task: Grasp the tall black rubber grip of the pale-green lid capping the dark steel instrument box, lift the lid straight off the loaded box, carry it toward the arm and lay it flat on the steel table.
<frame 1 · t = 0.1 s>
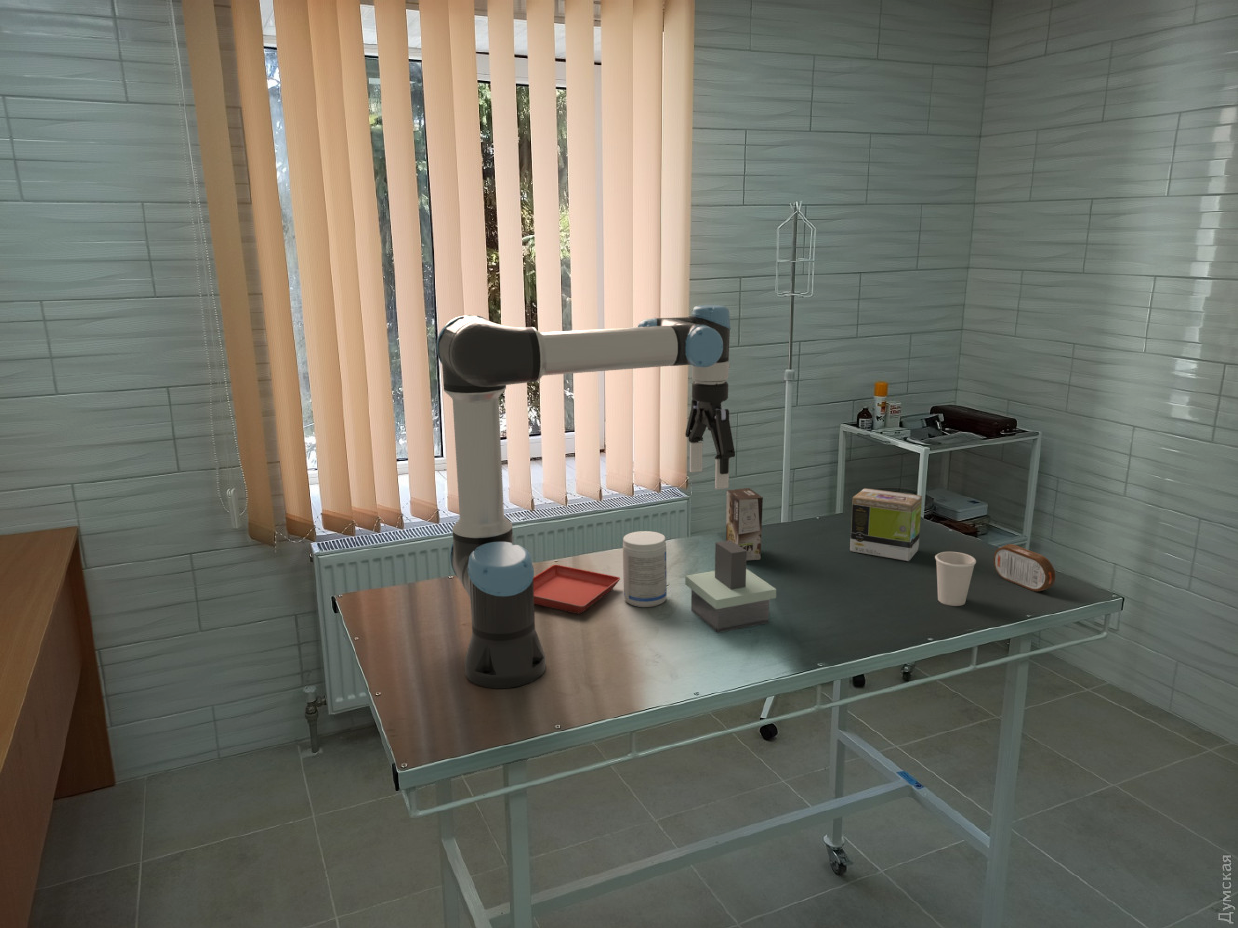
hand: (708, 479, 190), 28 cm above the table, fingers open, 13 cm apart
dixie cup: (951, 601, 197), on the table
plant saucer: (568, 597, 201), on the table
lid: (729, 591, 188), point 6 cm above the table, touching instrument box
tin: (1020, 585, 205), on the table
supplement tub: (644, 600, 199), on the table
tea box: (883, 551, 227), on the table
instrument box: (729, 616, 190), on the table
coffee box: (742, 555, 225), on the table
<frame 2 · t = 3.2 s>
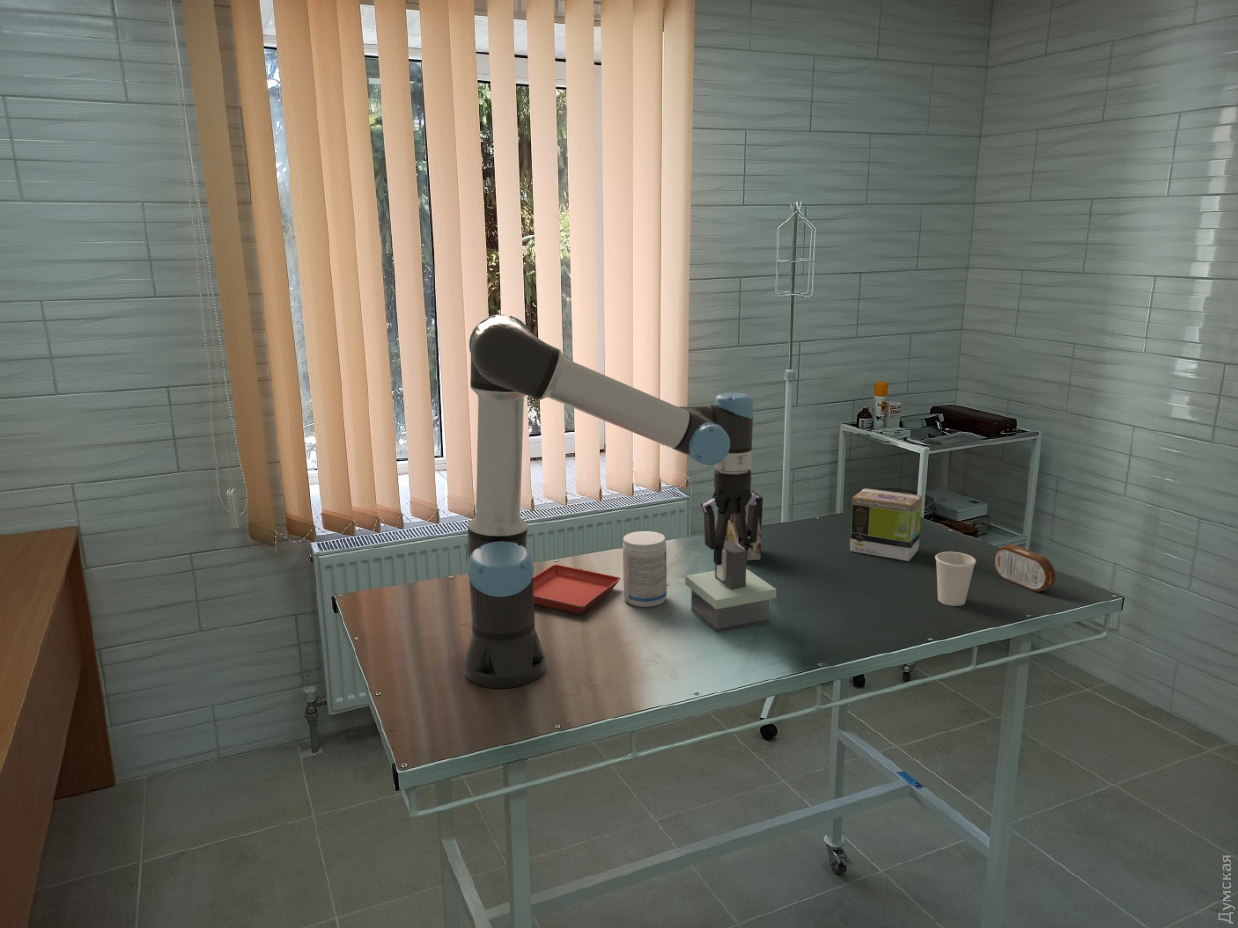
hand: (730, 576, 187), 9 cm above the table, fingers closed on lid, 3 cm apart
lid: (729, 591, 188), point 6 cm above the table, touching gripper, instrument box
everything else where it was.
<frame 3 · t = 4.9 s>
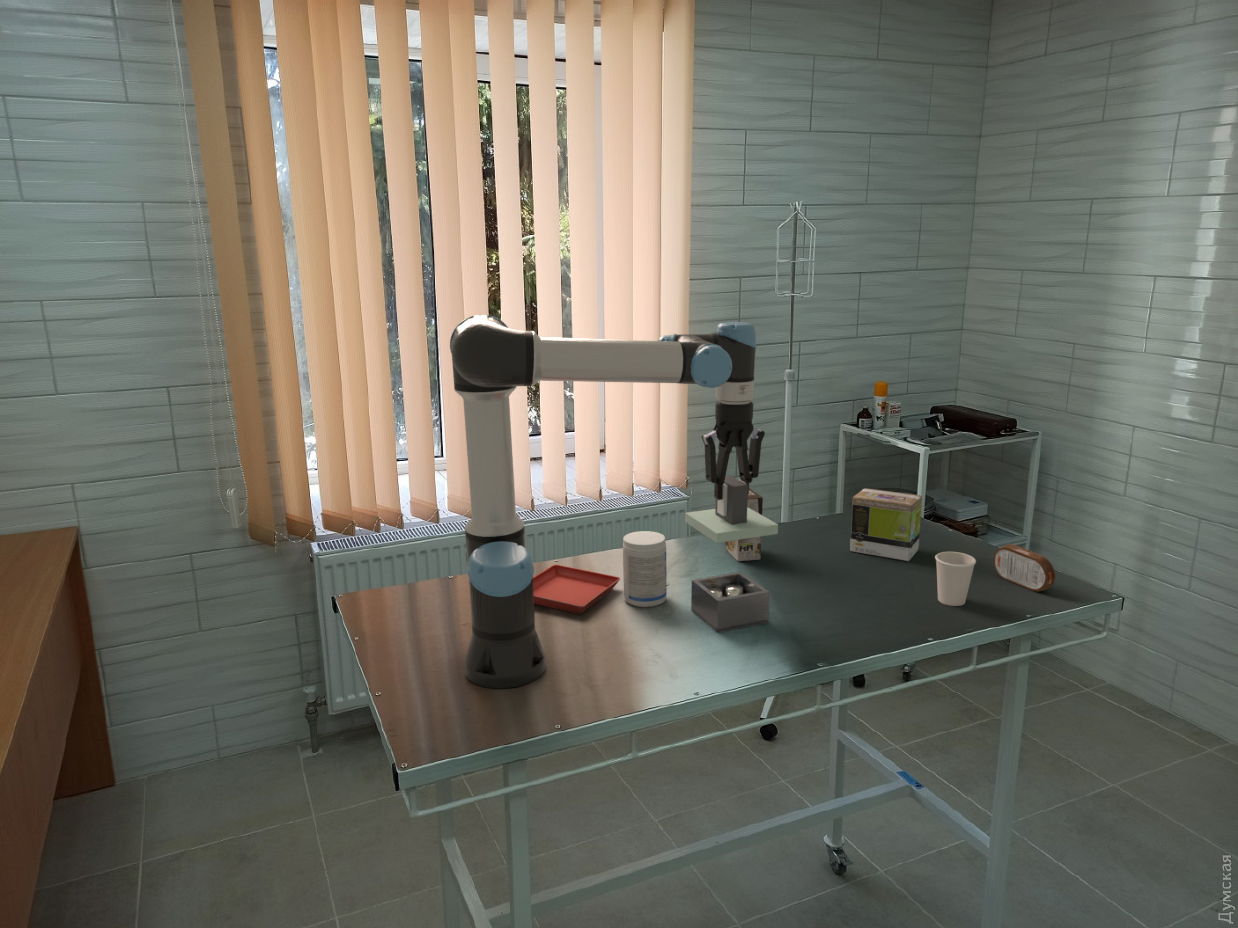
hand: (730, 512, 184), 23 cm above the table, fingers closed on lid, 3 cm apart
lid: (730, 527, 185), point 20 cm above the table, touching gripper
everything else where it was.
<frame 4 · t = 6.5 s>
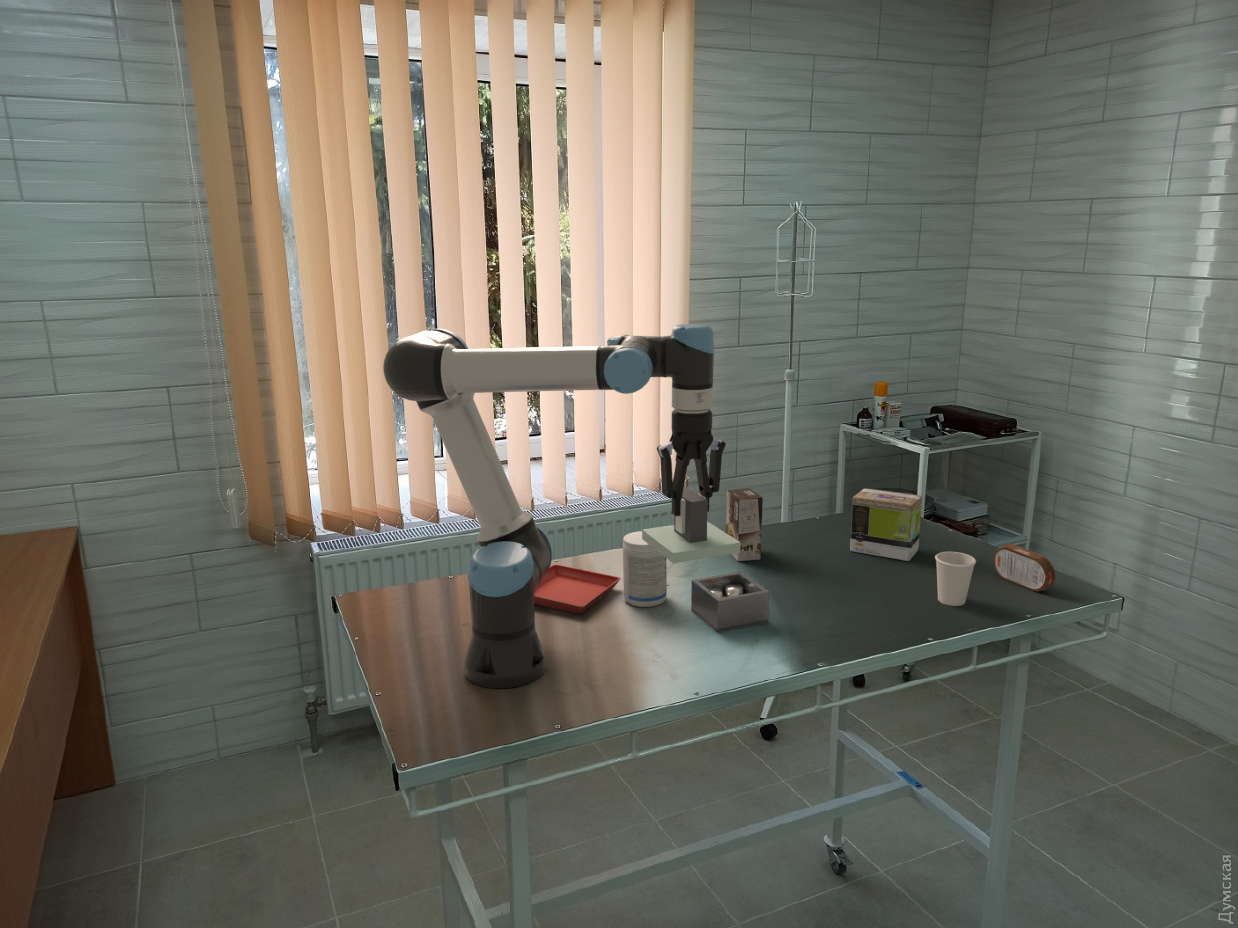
hand: (690, 529, 170), 24 cm above the table, fingers closed on lid, 3 cm apart
lid: (690, 545, 171), point 21 cm above the table, touching gripper
everything else where it was.
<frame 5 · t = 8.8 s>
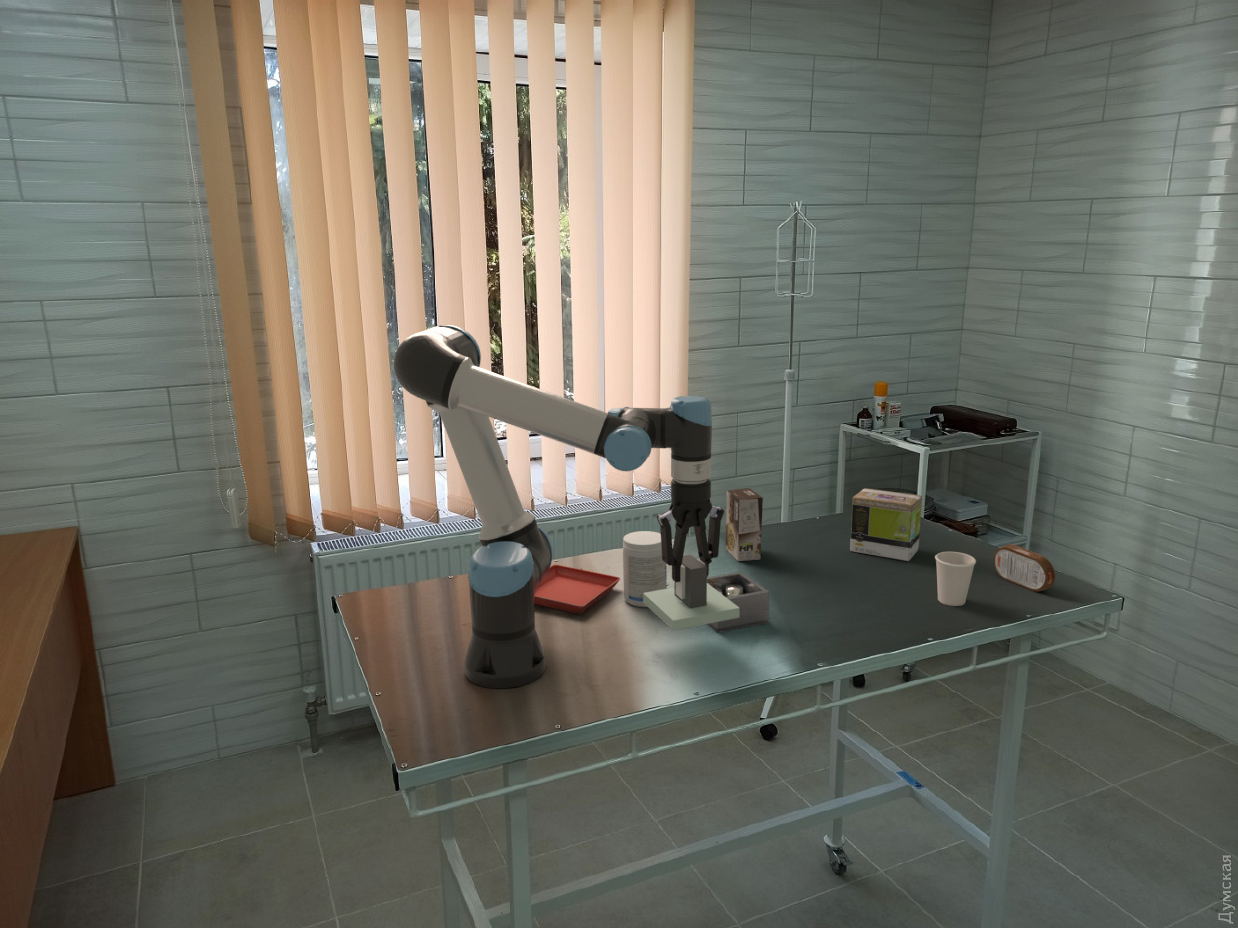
hand: (690, 594, 174), 11 cm above the table, fingers closed on lid, 3 cm apart
lid: (690, 609, 175), point 8 cm above the table, touching gripper
everything else where it was.
when the fingers open (5 cm above the table, at t = 10.3 s): lid drops 2 cm, on the table.
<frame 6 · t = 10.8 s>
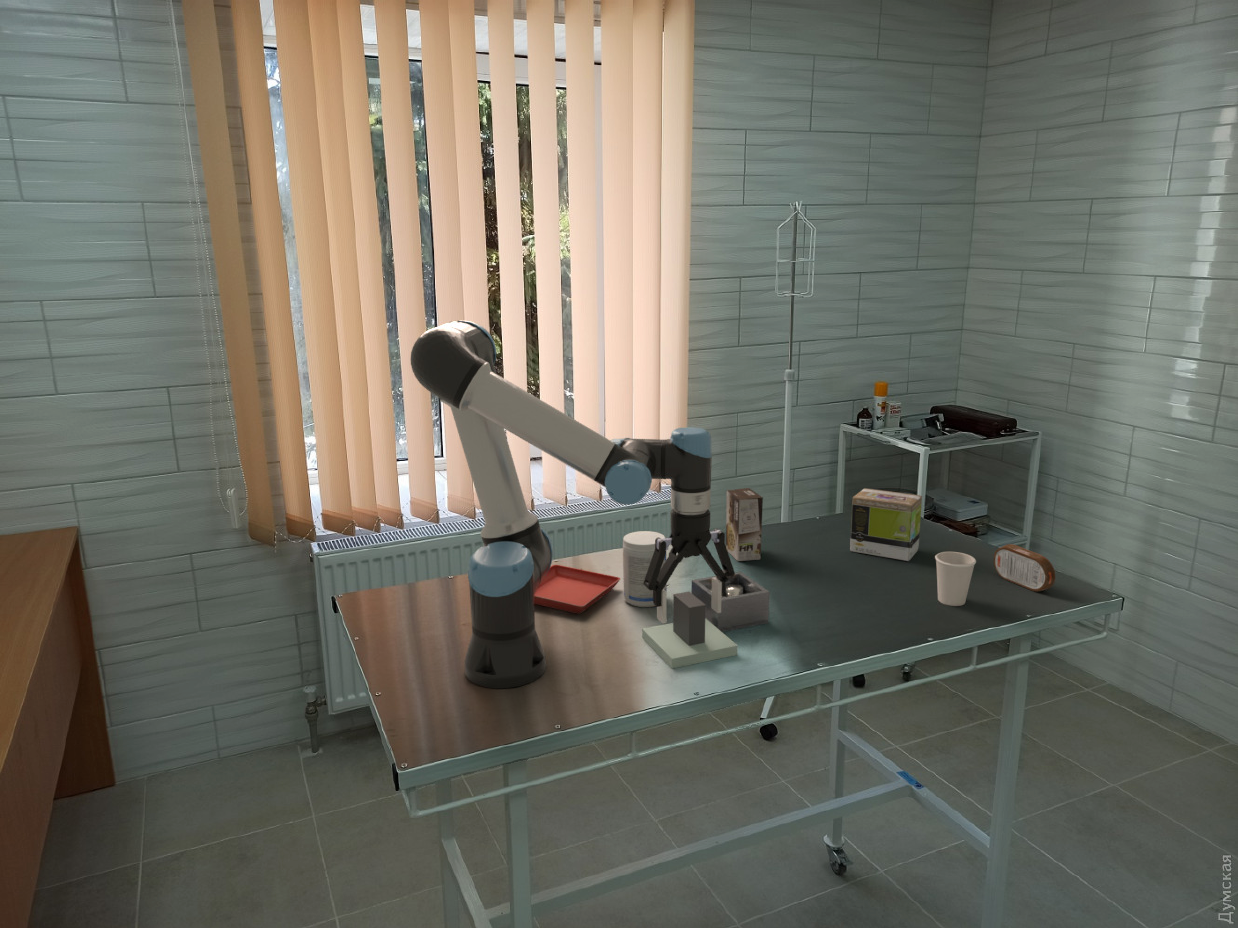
hand: (689, 615, 175), 7 cm above the table, fingers open, 11 cm apart
lid: (688, 646, 177), on the table
everything else where it was.
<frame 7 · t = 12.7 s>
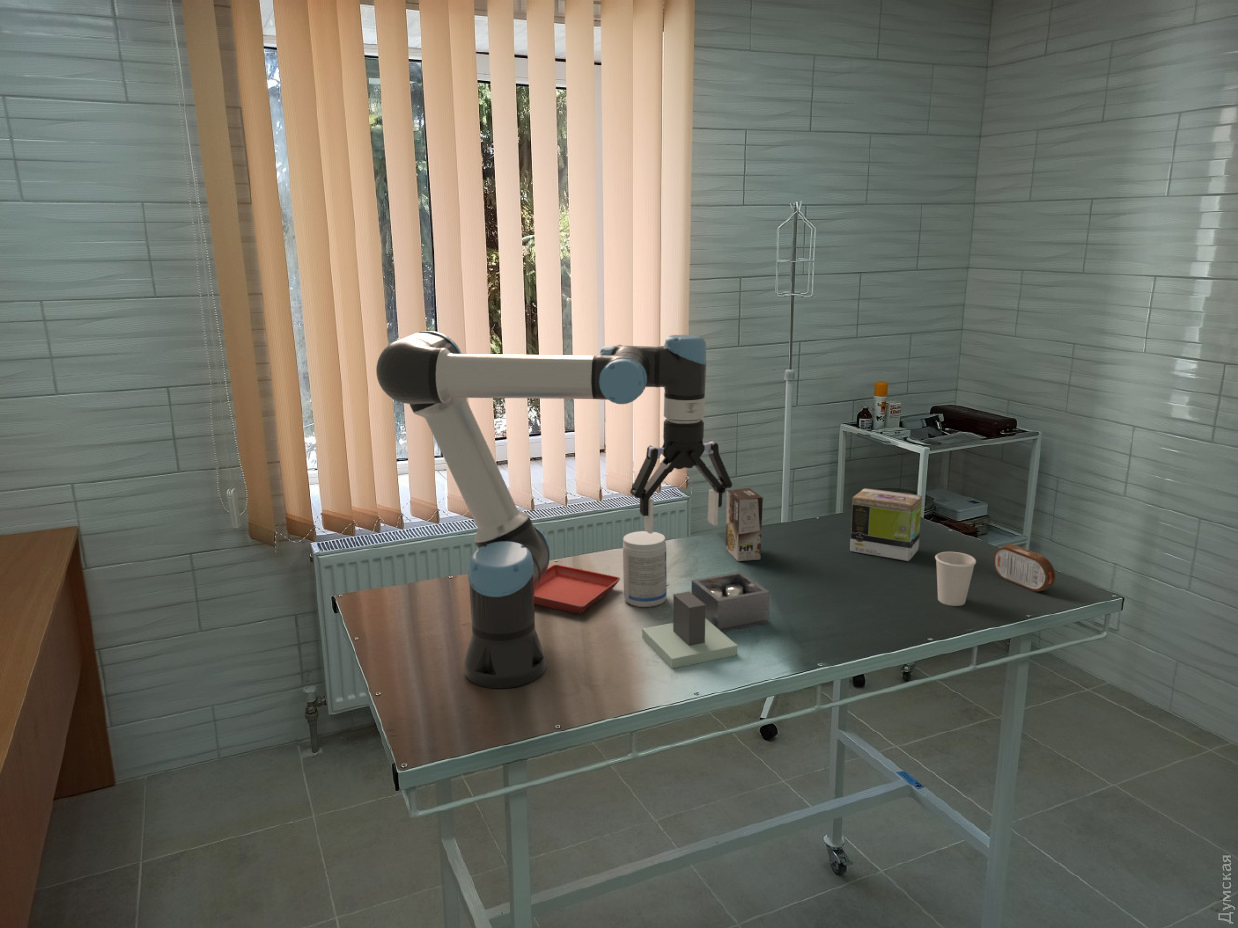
hand: (680, 527, 171), 24 cm above the table, fingers open, 13 cm apart
nothing on the table moved.
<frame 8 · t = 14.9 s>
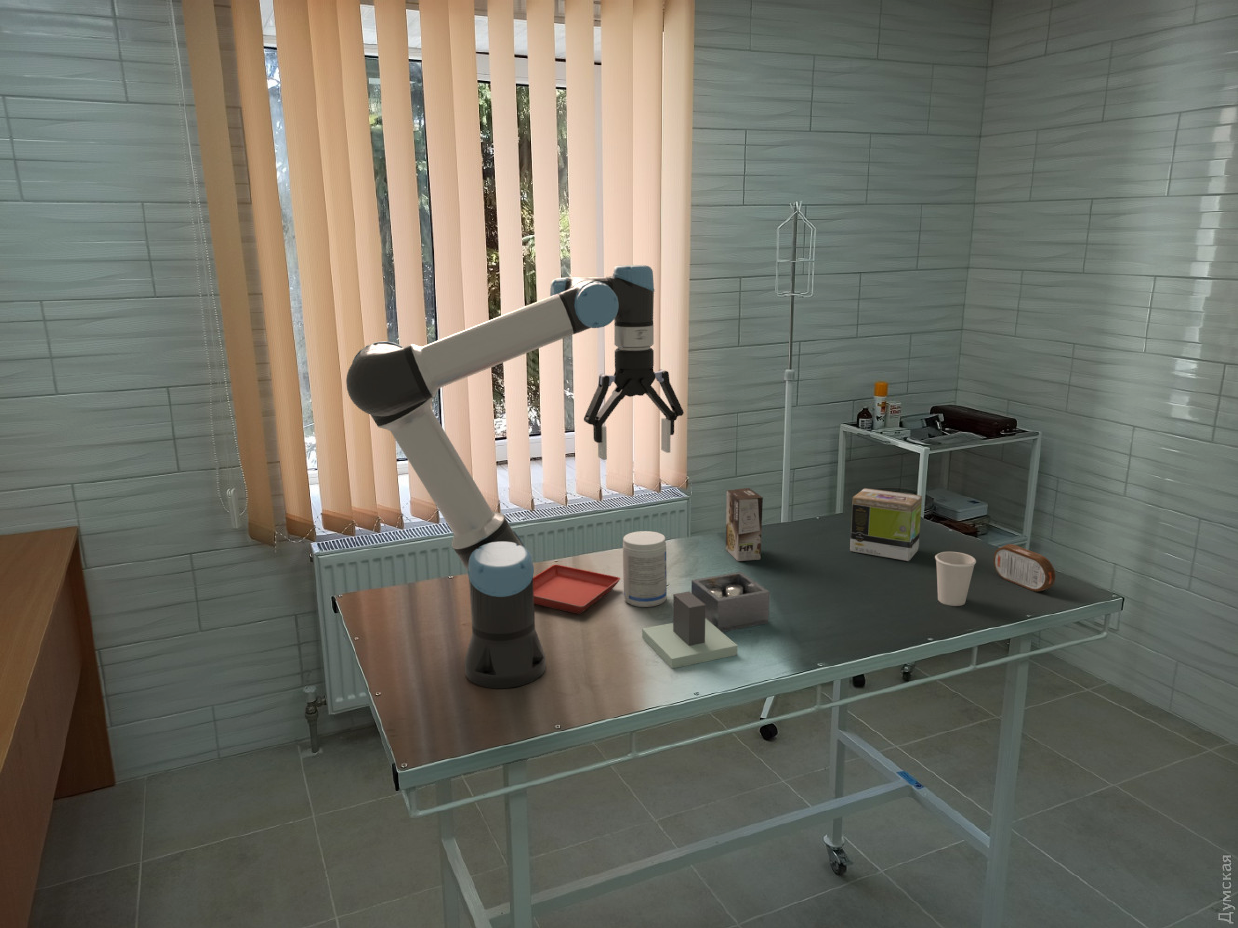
hand: (634, 454, 177), 37 cm above the table, fingers open, 13 cm apart
nothing on the table moved.
at the end: lid inside the target area (0.0 cm from its centre), on the table; lid tilted 0°; lid touching table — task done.
